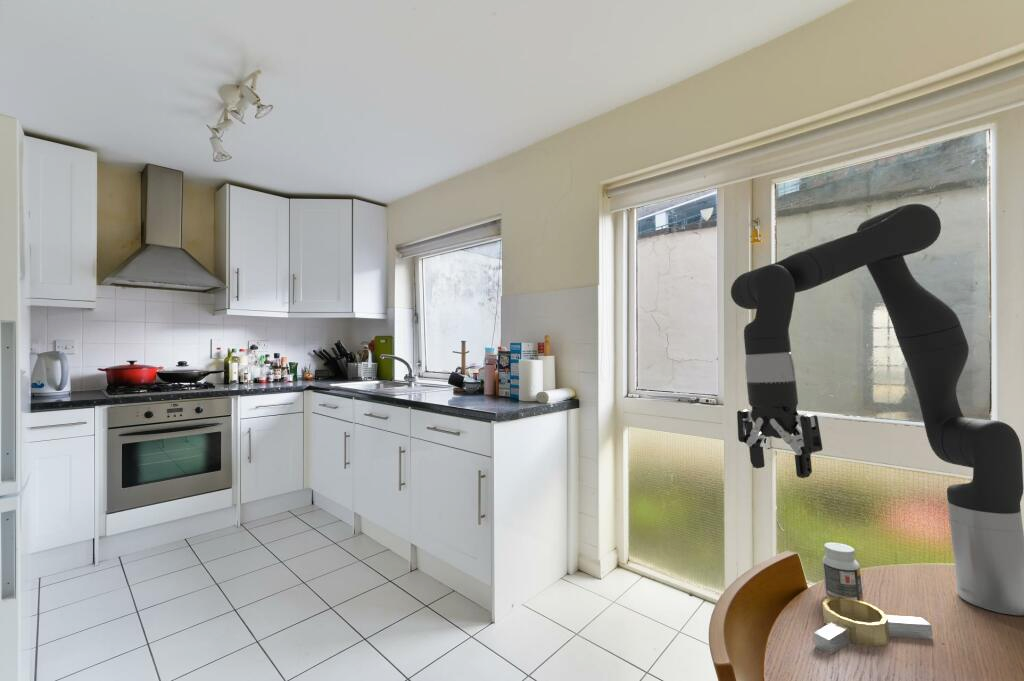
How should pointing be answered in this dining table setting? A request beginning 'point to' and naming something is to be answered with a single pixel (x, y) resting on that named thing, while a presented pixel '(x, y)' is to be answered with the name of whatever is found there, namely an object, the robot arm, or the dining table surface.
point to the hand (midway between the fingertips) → (779, 472)
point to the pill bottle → (841, 572)
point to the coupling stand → (864, 625)
